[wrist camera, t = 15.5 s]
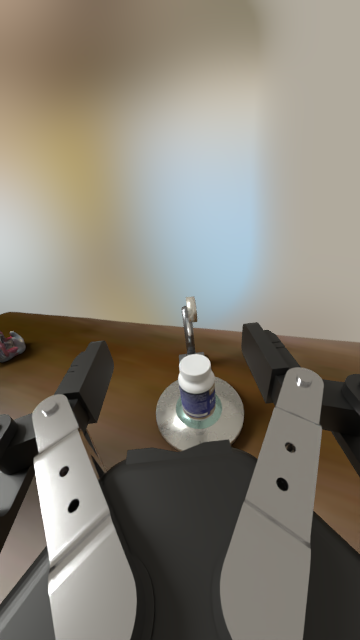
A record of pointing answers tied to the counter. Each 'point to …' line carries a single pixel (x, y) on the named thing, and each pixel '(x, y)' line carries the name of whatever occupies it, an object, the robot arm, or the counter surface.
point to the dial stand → (189, 326)
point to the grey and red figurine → (11, 346)
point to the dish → (190, 432)
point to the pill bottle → (197, 387)
